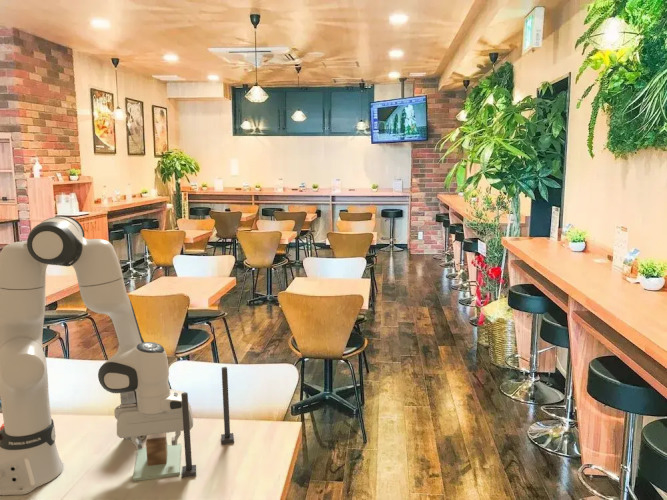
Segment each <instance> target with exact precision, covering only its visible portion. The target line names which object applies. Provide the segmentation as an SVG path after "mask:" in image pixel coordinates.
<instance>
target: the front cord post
mask: <svg viewBox="0 0 667 500" xmlns="http://www.w3.org/2000/svg"><path fill="white" fill-rule="evenodd" d="M184 392H185V393H182V394H181V396H182V412H183V428H184V431H183V441H184V454H185V455H184V457H185V465H182V467H181V468H182V469H181V475H182V476H181V477H182V479H184V478H191V477H197V464H193V462H192V461H193V459H192V457H193V456H192V445H191V432H190V431H191V430H190V424H189V408H188V402H189V396H188V394H189V393H188V392H186V391H184Z"/></svg>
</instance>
